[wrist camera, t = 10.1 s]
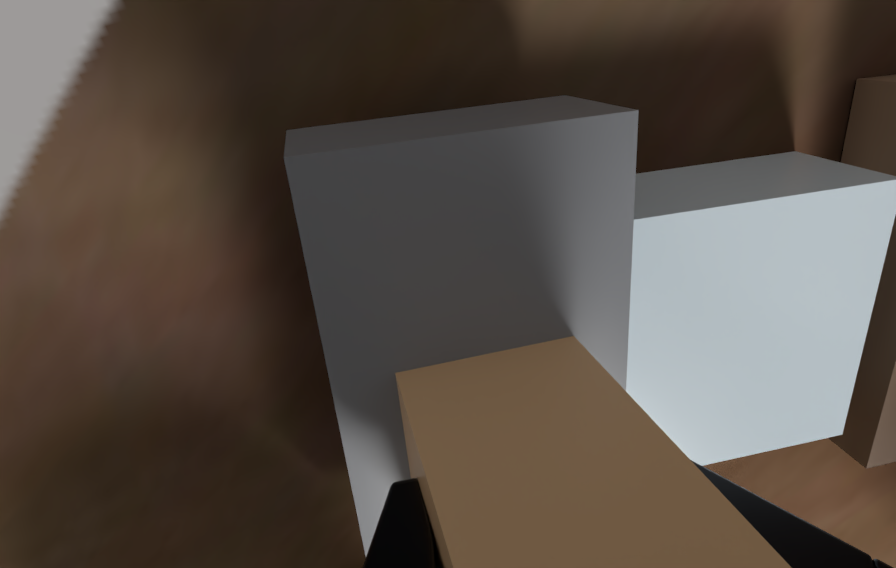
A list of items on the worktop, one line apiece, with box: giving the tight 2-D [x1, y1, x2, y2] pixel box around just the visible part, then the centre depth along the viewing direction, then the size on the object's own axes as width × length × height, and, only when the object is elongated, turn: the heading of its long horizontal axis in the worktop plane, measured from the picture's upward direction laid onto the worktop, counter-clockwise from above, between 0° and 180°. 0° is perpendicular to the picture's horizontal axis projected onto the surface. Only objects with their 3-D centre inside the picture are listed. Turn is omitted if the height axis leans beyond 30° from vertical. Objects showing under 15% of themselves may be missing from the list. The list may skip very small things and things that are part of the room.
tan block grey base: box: [284, 95, 791, 568], centre depth 8 cm, size 5×10×10 cm, turn 5°
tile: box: [626, 151, 896, 466], centre depth 13 cm, size 6×6×3 cm
